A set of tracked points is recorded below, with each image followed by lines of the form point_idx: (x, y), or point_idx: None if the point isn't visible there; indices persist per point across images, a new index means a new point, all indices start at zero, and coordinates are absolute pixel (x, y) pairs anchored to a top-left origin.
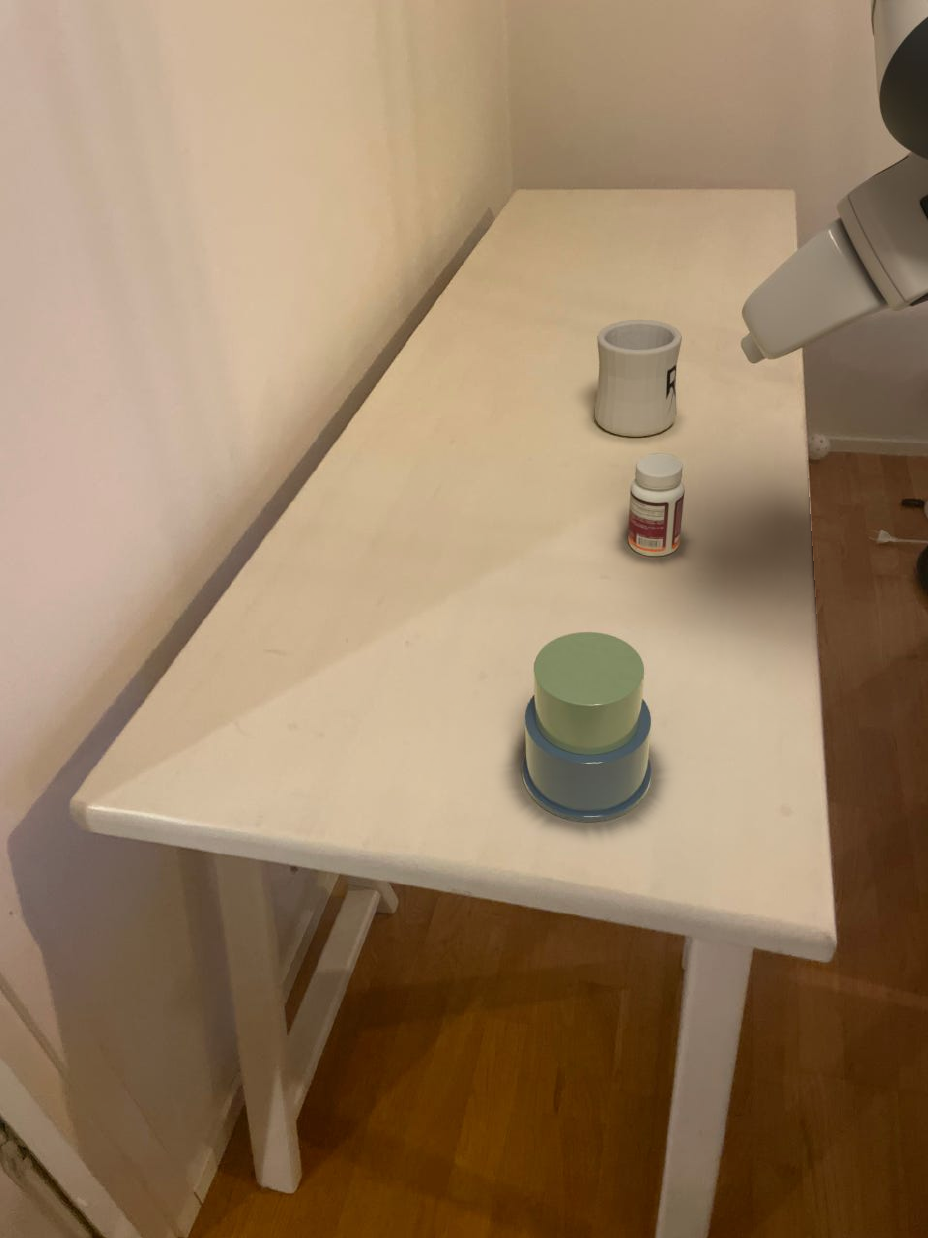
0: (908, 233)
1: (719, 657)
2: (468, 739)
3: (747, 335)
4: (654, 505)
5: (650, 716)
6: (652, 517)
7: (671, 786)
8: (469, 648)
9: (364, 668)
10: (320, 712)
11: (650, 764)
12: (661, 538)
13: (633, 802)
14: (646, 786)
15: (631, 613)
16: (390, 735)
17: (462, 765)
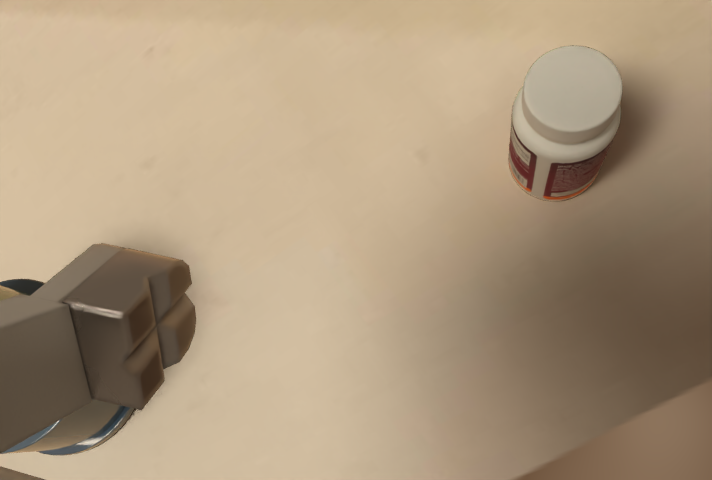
0: None
1: (356, 401)
2: (51, 224)
3: (69, 264)
4: (518, 139)
5: (43, 435)
6: (515, 148)
7: (102, 473)
8: (182, 115)
9: (87, 47)
10: (8, 66)
11: (106, 436)
12: (525, 178)
13: (43, 452)
14: (72, 452)
15: (369, 239)
16: (15, 151)
17: (15, 246)
